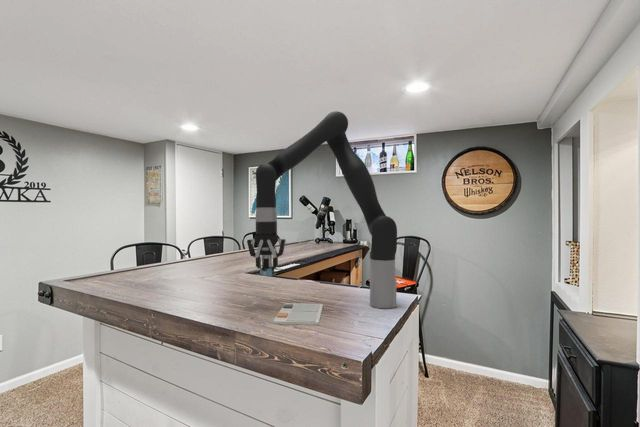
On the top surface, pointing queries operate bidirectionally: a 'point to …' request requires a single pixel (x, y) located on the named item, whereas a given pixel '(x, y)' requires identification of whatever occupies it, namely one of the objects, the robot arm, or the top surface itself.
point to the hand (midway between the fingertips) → (266, 267)
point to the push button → (266, 262)
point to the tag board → (299, 314)
